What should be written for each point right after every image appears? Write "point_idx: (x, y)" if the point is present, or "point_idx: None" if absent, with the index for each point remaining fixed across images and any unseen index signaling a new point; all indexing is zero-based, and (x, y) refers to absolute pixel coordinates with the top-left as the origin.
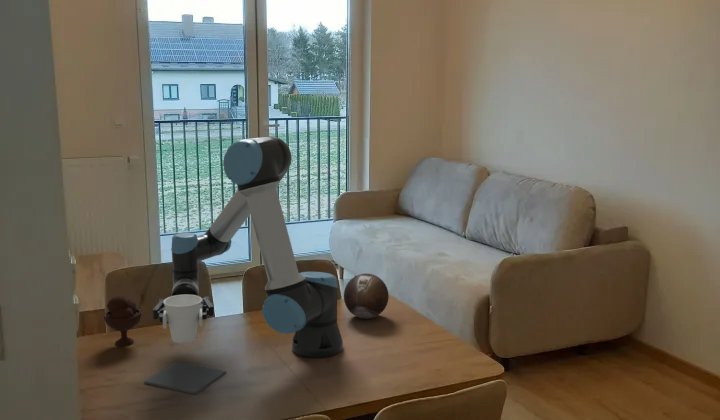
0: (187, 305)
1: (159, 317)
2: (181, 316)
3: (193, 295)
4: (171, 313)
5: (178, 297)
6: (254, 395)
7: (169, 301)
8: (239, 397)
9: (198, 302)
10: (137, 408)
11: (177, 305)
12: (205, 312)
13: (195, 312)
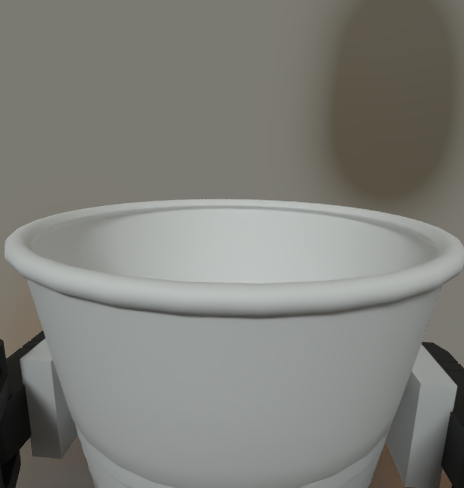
0: (150, 440)
1: (435, 351)
2: (249, 278)
3: (47, 259)
4: (320, 271)
5: (304, 328)
6: (26, 453)
7: (423, 314)
8: (74, 452)
9: (117, 204)
10: (383, 466)
11: (312, 430)
12: (30, 348)
13: (149, 274)
